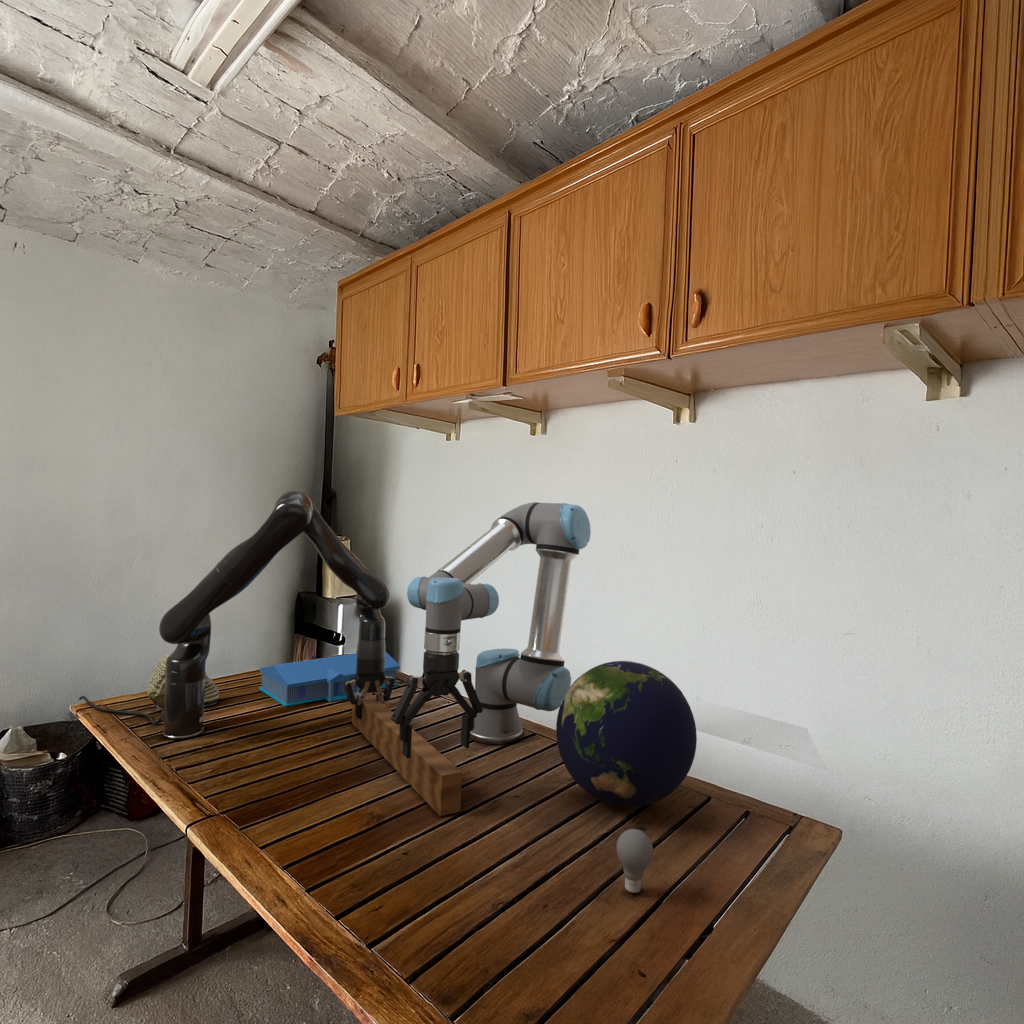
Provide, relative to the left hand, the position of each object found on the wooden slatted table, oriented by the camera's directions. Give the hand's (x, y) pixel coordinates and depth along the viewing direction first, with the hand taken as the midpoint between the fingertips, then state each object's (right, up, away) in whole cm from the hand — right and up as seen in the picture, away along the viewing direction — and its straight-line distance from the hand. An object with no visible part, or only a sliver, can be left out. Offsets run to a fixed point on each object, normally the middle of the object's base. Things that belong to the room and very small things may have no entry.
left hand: (368, 716), depth 172 cm
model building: (-20, -2, +35) cm, 41 cm away
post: (+11, -5, -19) cm, 22 cm away
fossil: (-57, -1, +12) cm, 58 cm away
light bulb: (+59, -8, -67) cm, 90 cm away
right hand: (+23, +5, -38) cm, 45 cm away
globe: (+63, -7, -35) cm, 72 cm away
